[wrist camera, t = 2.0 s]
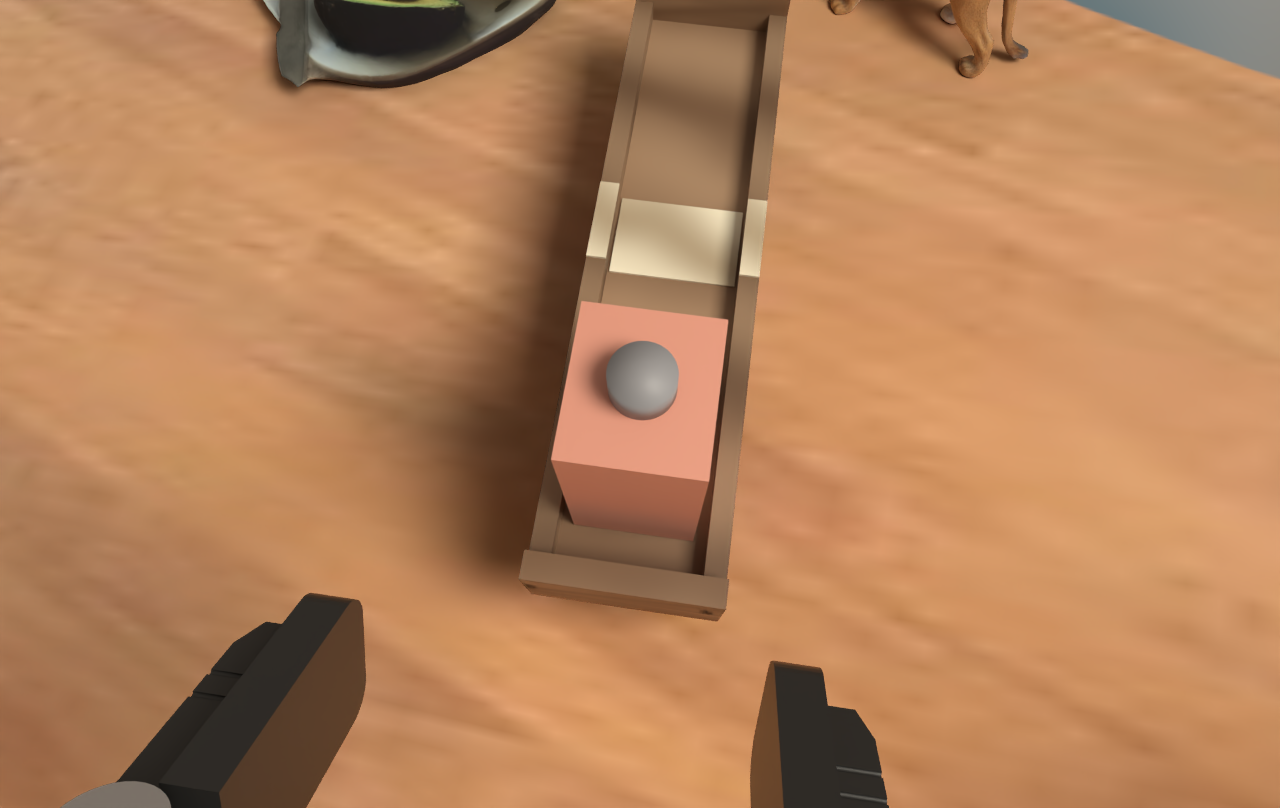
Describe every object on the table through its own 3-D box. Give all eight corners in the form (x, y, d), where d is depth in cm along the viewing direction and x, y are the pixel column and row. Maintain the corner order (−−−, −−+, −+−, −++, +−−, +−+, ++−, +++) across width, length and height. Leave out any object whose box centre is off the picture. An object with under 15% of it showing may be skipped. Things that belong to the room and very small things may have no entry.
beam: (709, 632, 34) (725, 609, 27) (544, 607, 35) (518, 578, 28) (769, 99, 44) (792, -18, 37) (640, 85, 45) (639, -34, 38)
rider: (692, 541, 30) (711, 471, 22) (574, 524, 30) (546, 448, 22) (708, 414, 32) (731, 303, 23) (596, 399, 32) (579, 284, 24)
